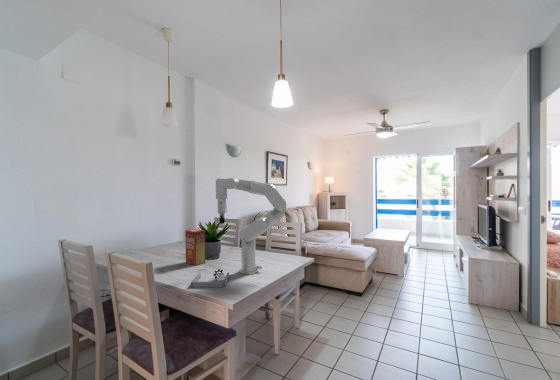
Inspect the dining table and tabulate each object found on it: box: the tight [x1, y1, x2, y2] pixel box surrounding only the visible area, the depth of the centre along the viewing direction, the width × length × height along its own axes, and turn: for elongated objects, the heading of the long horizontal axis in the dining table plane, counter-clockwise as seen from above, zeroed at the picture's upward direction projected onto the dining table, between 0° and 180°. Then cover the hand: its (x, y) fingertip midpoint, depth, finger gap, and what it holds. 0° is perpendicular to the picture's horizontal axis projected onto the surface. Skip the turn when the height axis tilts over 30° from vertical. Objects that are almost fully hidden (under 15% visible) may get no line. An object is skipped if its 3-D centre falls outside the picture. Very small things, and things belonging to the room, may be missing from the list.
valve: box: [213, 268, 225, 281], centre depth 156 cm, size 7×7×12 cm
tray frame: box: [190, 271, 230, 289], centre depth 157 cm, size 19×17×3 cm
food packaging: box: [184, 228, 206, 267], centre depth 196 cm, size 13×9×25 cm
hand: (222, 223), depth 176 cm, fingers closed
